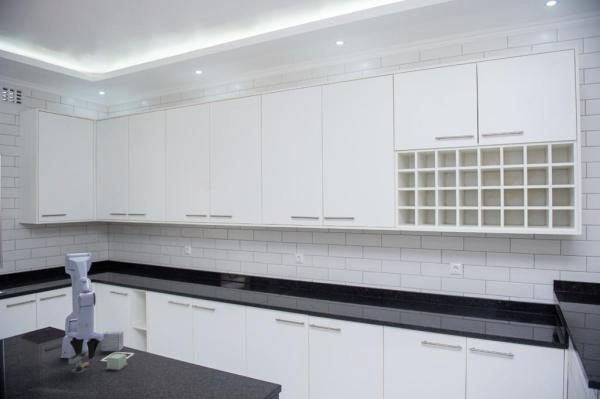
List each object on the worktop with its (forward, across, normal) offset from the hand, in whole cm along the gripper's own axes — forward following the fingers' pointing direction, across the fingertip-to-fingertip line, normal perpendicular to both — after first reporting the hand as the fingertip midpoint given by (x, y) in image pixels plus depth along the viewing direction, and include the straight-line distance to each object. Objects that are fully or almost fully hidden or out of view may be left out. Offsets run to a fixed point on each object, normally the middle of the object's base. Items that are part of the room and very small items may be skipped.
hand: (85, 357), depth 153 cm
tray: (+5, +7, +10) cm, 14 cm away
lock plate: (+5, +5, -1) cm, 7 cm away
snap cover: (+4, +12, +2) cm, 13 cm away
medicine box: (+5, -1, +18) cm, 19 cm away
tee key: (+3, 0, -4) cm, 5 cm away
